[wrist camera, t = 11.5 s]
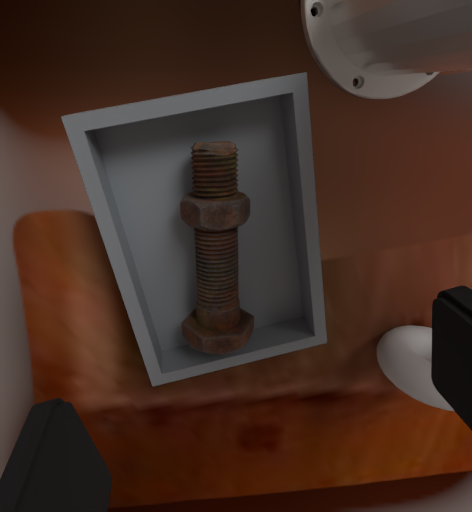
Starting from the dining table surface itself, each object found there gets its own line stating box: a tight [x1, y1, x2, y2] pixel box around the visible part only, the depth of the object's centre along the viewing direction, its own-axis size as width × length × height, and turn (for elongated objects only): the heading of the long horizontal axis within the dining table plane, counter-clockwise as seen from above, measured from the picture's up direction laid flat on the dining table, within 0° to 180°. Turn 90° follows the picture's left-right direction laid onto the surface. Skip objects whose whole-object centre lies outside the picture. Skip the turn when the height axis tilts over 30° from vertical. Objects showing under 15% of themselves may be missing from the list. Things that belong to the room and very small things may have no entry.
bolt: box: [180, 141, 254, 354], centre depth 28 cm, size 6×5×15 cm
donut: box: [377, 325, 454, 411], centre depth 34 cm, size 10×4×10 cm, turn 85°
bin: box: [61, 72, 327, 387], centre depth 29 cm, size 15×21×4 cm
